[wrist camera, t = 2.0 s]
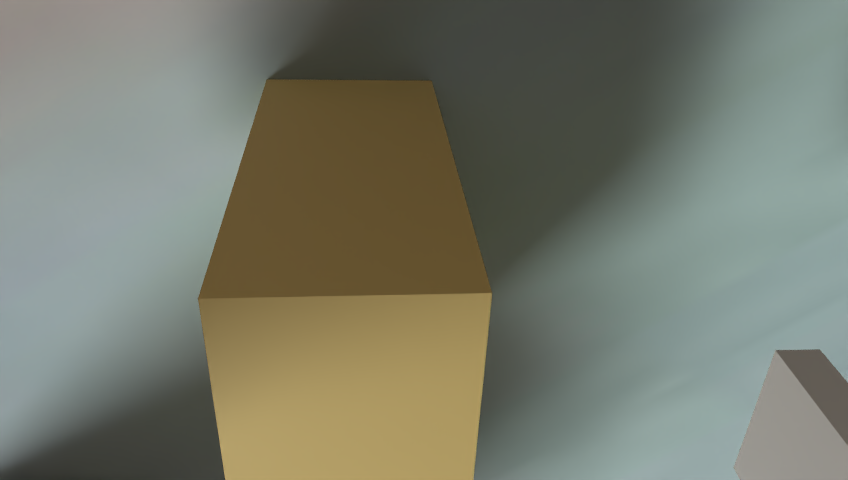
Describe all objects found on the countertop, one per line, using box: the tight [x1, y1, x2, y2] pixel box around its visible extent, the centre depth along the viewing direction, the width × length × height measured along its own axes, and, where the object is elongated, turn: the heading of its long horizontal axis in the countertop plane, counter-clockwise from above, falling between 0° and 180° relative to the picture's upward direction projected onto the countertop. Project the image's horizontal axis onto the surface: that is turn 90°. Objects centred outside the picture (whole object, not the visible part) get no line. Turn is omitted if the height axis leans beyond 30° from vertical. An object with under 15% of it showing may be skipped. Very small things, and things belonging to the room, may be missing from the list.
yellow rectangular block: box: [198, 79, 492, 480], centre depth 14 cm, size 4×7×8 cm, turn 178°
